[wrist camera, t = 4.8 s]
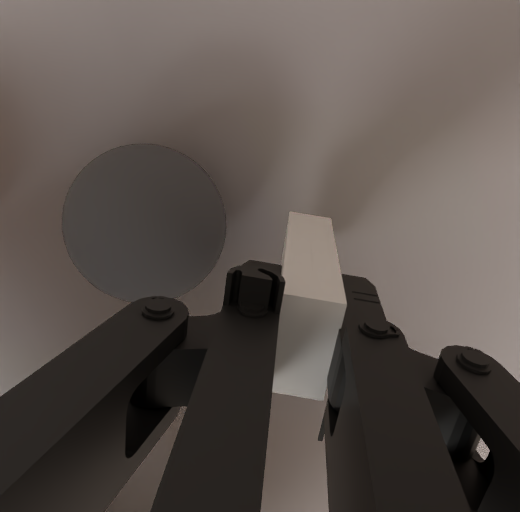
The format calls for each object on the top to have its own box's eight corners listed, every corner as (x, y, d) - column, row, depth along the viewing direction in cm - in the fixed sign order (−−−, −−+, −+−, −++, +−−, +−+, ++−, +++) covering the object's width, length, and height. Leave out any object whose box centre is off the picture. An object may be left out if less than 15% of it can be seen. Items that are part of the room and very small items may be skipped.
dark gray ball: (227, 334, 15) (200, 266, 20) (258, 176, 13) (219, 143, 18) (50, 334, 13) (66, 259, 18) (54, 150, 11) (71, 120, 16)
